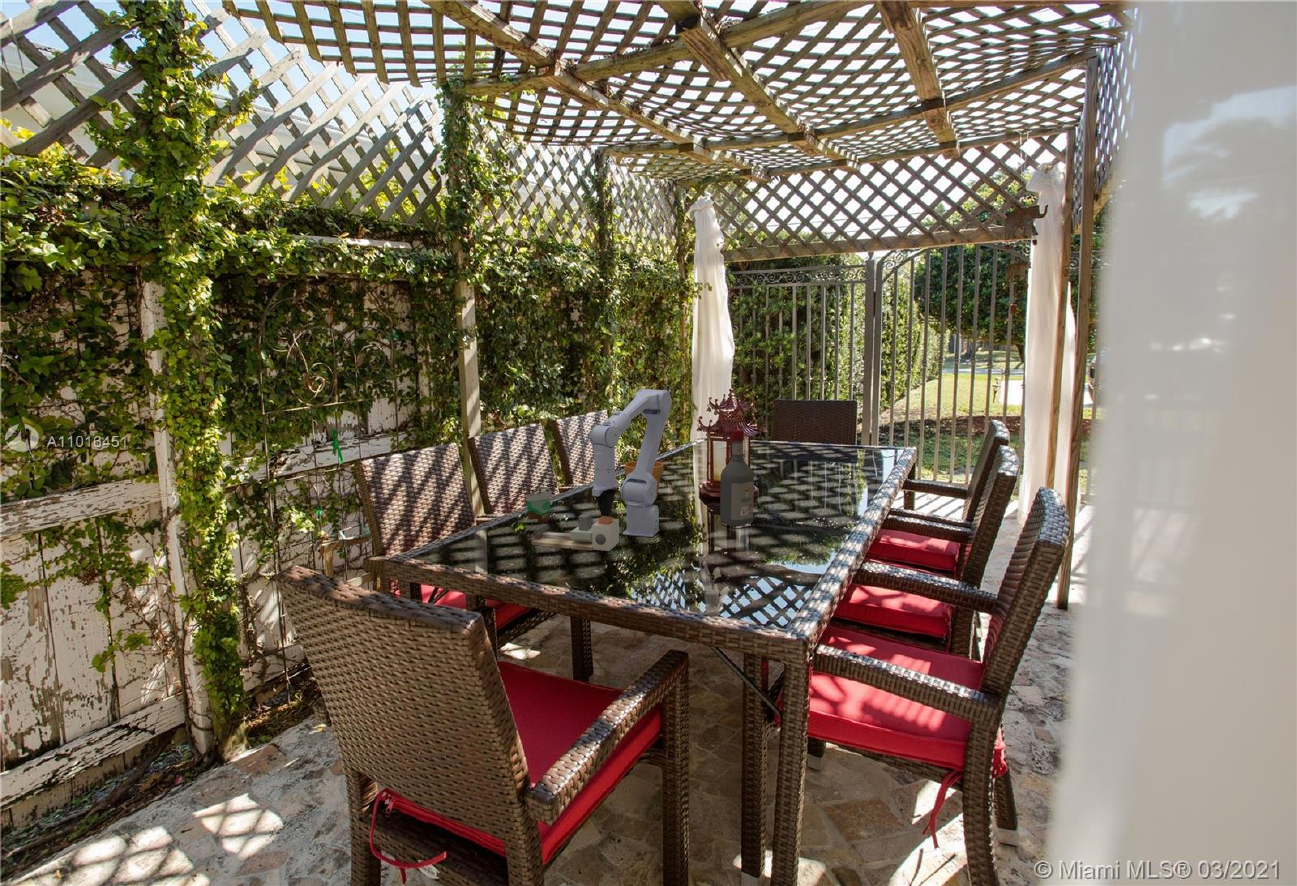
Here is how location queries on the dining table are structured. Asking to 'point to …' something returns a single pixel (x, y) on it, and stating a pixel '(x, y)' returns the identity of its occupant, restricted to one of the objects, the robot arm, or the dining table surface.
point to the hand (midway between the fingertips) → (605, 515)
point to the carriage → (583, 529)
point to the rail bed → (558, 539)
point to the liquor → (736, 486)
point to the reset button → (605, 520)
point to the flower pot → (655, 473)
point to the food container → (538, 505)
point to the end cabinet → (605, 535)
